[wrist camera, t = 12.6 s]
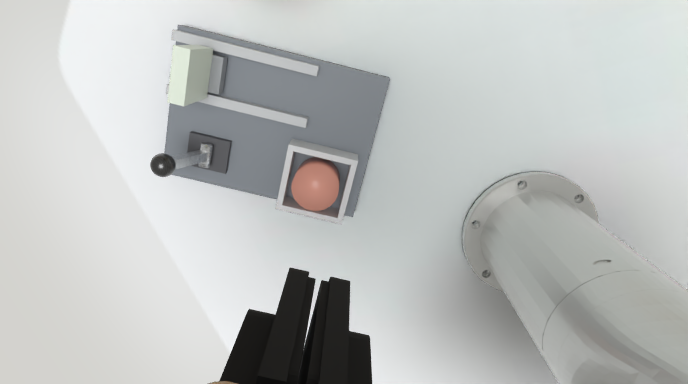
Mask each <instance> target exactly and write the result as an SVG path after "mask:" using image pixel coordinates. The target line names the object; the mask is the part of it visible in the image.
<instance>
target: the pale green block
mask: <svg viewBox="0 0 688 384" xmlns="http://www.w3.org/2000/svg"><path fill="white" fill-rule="evenodd" d="M227 59H228V57H225V56H221V55H217V54H213V48H210V47H206V46H202V45H173V52H172V62H171V71H170V81H169V91H168V101H167V102H168V103H172V104H176V105H180V106H186V105H189V104H192V103H194V102H197V101H200V100H202V99H205V98H207V92H210V93H214V94H221V93H223V87H224V80H225V73H226V66H227Z"/></svg>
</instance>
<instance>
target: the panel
mask: <svg viewBox="0 0 688 384" xmlns="http://www.w3.org/2000/svg"><path fill="white" fill-rule="evenodd" d="M172 40H174V41H176V45H202V46H206V47H210V48H213V54H217V55H221V56H225V57H228V59H227V66H226V73H225V80H224V87H223V93H221V94H214V93H210V92H207V98H205V99H202V100H200V101H197V102H194V103H192V104H189V105H186V106H180V105H176V104H172V103H170V106H169V116H168V125H167V135H166V144H165V154H168V155H170V156H174V155H179V154H184V153H188V152H193V151H197V150H200V147H201V143H203V142H206V143H211V144H213V149H212V156H211V163H210V167H209V168H203V167H200V166H198V164H195V165H191V166H187V167H183V168H179V169H175V171H174V172H173V173H172V174H171V175H176V176H180V177H184V178H188V179H193V180H197V181H201V182H205V183H210V184H214V185H218V186H222V187H227V188H231V189H235V190H239V191H244V192H248V193H252V194H256V195H261V196H265V197H269V198H274V199H277V204H276V209H277V210H282V211H286V212H290V213H294V214H299V215H303V216H307V217H312V218H316V219H320V220H324V221H329V222H333V223H337V224H342V221H343V217H344V215H346V216H350V217H353V214H354V211H355V207H356V203H357V200H358V196H359V192H360V188H361V185H362V181H363V177H364V174H365V170H366V166H367V162H368V159H369V155H370V151H371V148H372V144H373V140H374V137H375V133H376V129H377V125H378V122H379V118H380V114H381V111H382V107H383V103H384V99H385V96H386V92H387V88H388V85H389V81H390V78H389V77H386V76H382V75H378V74H374V73H370V72H366V71H362V70H358V69H354V68H350V67H346V66H342V65H339V64H335V63H331V62H327V61H323V60H319V59H315V58H311V57H307V56H303V55H299V54H295V53H291V52H287V51H283V50H279V49H275V48H271V47H268V46H264V45H260V44H256V43H252V42H248V41H244V40H240V39H236V38H232V37H228V36H224V35H220V34H216V33H212V32H208V31H204V30H200V29H197V28H193V27H189V26H184V25H178V29H177V30H172ZM168 91H169V84H167V89H166V94H168ZM312 157H319V158H323V159H327V160H330V161H331V162H333V163H334V164H335V166H336V167H337V169H338V171H339V174H340V184H339V192H338V196H337V198H336V200H335V202H334V203H333V204H332V205H331V206H330V207H328V208H326V209H324V210H320V211H311V210H307V209H305V208H303V207H302V206H300V205H299V204H298V203H297V202H296V201H295V199H294V197H293V195H292V190H291V186H292V181H293V179H294V176H295V174H296V172H297V170H298V168H299V166H300V165H301V164H302V163H303V162H304V161H305V160H307V159H309V158H312Z"/></svg>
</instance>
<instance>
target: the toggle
mask: <svg viewBox="0 0 688 384" xmlns="http://www.w3.org/2000/svg"><path fill="white" fill-rule="evenodd" d="M212 149H213V144H211V143H206V142H203V143H201V147H200V150H197V151H193V152H188V153H184V154H179V155H174V156H170V155H168V154H164V153H161V154H158V155H156V156H154V157H153V158H152V160H151V164H150V166H151V170H152V171H153V173H154V174H156V175H158V176H160V177H166V176H169V175H171V174H172V173H173V172H174V171H175V169H179V168H183V167H187V166H191V165H195V164H198V166H200V167H203V168H209V167H210V163H211V156H212Z"/></svg>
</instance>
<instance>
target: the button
mask: <svg viewBox="0 0 688 384" xmlns="http://www.w3.org/2000/svg"><path fill="white" fill-rule="evenodd" d="M339 184H340V174H339V171H338V169H337V167H336V166H335V164H334V163H333V162H331V161H330V160H327V159H323V158H319V157H312V158H309V159H307V160H305V161H304V162H303V163H302V164H301V165H300V166H299V168H298V170H297V172H296V174H295V176H294V179H293V181H292V186H291V190H292V195H293V197H294V199H295V201H296V202H297V203H298V204H299V205H300V206H302V207H303V208H305V209H307V210H311V211H320V210H324V209H326V208H328V207H330V206H331V205H332V204H333V203H334V202H335V200H336V198H337V196H338V192H339Z"/></svg>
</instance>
